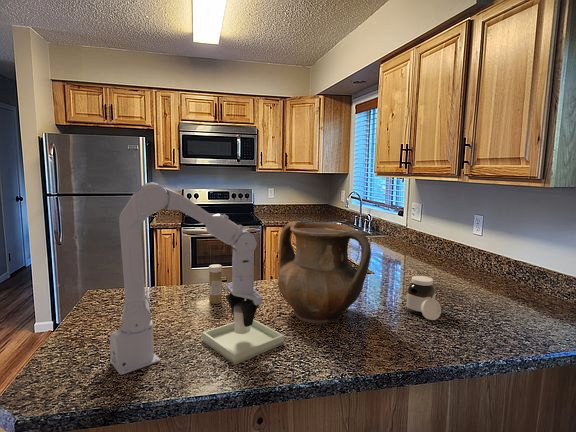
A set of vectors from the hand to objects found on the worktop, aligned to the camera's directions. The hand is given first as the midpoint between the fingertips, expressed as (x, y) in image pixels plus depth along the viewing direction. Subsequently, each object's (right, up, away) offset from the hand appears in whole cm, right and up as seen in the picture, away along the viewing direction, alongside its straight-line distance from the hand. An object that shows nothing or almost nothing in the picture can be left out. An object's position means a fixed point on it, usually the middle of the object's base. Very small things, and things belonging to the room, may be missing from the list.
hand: (243, 322), depth 97 cm
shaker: (0, -2, 0) cm, 2 cm away
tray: (0, -6, +1) cm, 6 cm away
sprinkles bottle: (-14, -2, +30) cm, 33 cm away
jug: (+23, -4, +21) cm, 32 cm away
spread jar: (+58, -4, +23) cm, 63 cm away
